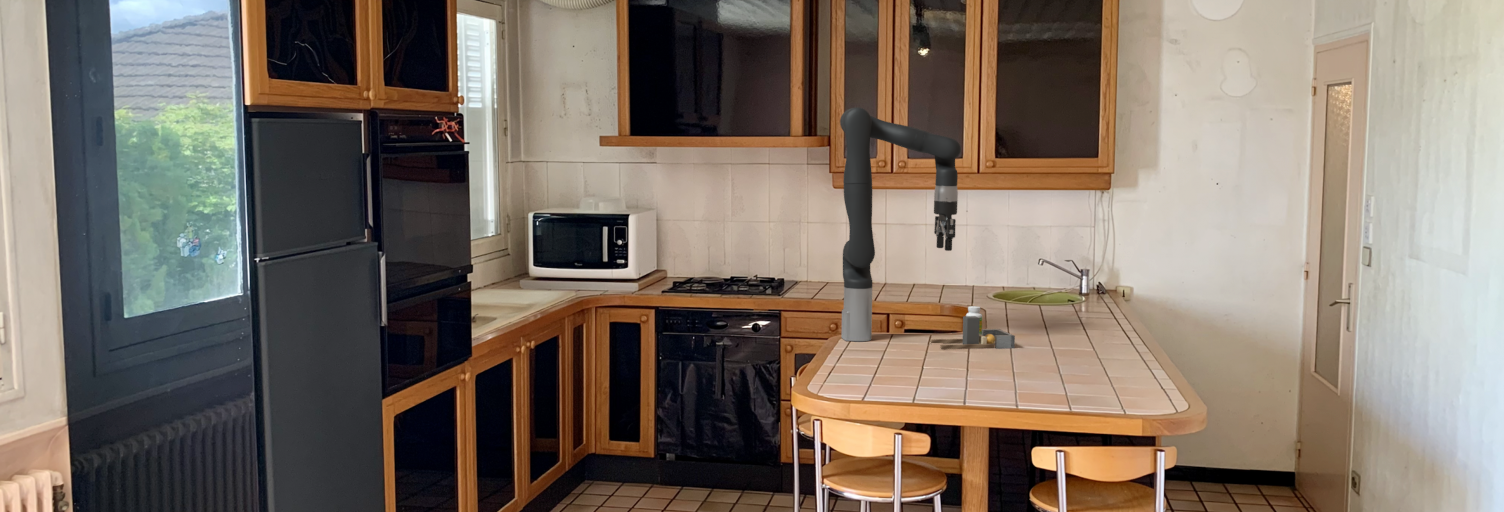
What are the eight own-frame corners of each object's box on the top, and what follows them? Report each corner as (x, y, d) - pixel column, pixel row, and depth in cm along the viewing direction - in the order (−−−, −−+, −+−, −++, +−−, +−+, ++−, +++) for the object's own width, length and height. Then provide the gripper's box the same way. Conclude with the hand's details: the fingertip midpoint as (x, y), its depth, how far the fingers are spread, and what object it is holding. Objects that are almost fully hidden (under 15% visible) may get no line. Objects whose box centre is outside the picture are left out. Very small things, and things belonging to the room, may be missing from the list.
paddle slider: (968, 347, 366) (969, 319, 365) (960, 343, 373) (961, 315, 372) (986, 346, 367) (987, 318, 366) (978, 342, 374) (979, 315, 373)
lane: (941, 349, 362) (941, 345, 362) (930, 343, 373) (930, 339, 373) (994, 348, 365) (994, 344, 365) (981, 342, 376) (981, 338, 376)
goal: (996, 348, 364) (996, 336, 364) (981, 341, 377) (981, 329, 377) (1014, 348, 365) (1014, 335, 365) (999, 341, 378) (999, 329, 378)
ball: (998, 337, 369) (993, 347, 369) (994, 336, 373) (989, 345, 373) (989, 332, 369) (984, 342, 369) (985, 331, 372) (980, 340, 372)
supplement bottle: (981, 337, 386) (982, 308, 385) (965, 336, 387) (965, 307, 386) (981, 334, 391) (982, 306, 390) (965, 334, 392) (966, 305, 391)
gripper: (928, 198, 383) (926, 247, 385) (941, 200, 369) (939, 251, 371) (949, 198, 384) (948, 247, 386) (964, 201, 370) (962, 251, 372)
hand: (944, 249), depth 378 cm, fingers open, 8 cm apart
